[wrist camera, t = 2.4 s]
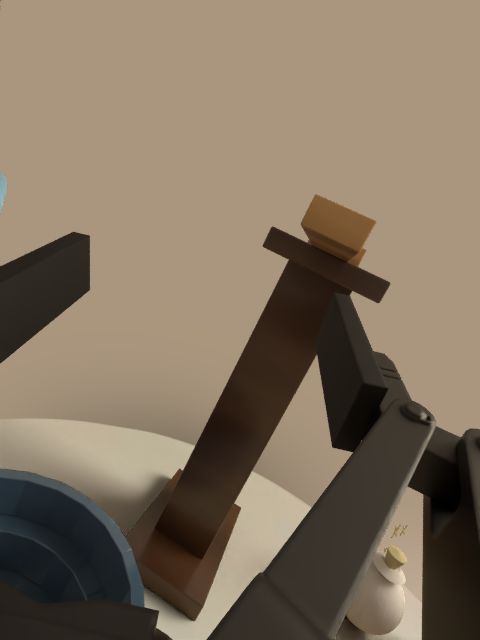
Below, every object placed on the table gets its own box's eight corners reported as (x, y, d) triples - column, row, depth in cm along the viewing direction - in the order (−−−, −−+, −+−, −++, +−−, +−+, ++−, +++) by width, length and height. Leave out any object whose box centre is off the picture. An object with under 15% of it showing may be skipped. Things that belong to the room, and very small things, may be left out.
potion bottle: (320, 616, 32) (376, 535, 30) (332, 561, 39) (378, 492, 37) (383, 669, 31) (447, 586, 28) (383, 601, 37) (435, 531, 35)
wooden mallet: (385, 264, 13) (413, 217, 12) (275, 213, 13) (298, 166, 13) (351, 271, 33) (361, 253, 32) (308, 251, 33) (317, 233, 33)
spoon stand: (194, 621, 27) (391, 283, 21) (110, 561, 29) (271, 225, 22) (235, 518, 39) (369, 280, 32) (173, 479, 40) (291, 243, 34)
